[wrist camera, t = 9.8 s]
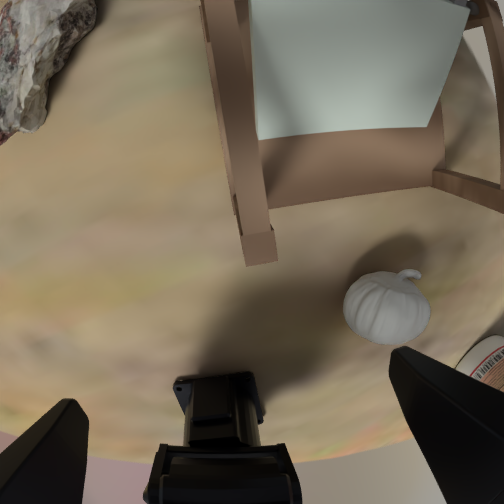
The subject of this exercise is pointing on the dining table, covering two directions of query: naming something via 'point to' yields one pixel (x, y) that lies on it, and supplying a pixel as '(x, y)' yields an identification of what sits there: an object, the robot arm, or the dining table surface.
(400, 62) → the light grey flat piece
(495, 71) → the stand
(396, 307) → the garlic
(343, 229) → the dining table surface
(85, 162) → the dining table surface
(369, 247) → the dining table surface
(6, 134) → the mineral rock
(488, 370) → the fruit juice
